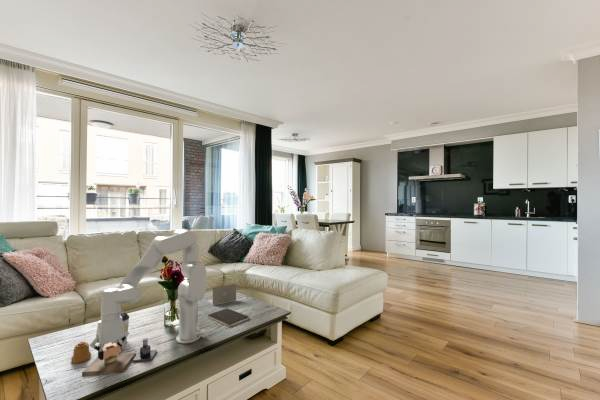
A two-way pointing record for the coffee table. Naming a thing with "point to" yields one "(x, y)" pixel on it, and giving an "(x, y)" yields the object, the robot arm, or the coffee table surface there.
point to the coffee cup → (125, 323)
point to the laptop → (223, 294)
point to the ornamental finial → (81, 353)
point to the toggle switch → (109, 364)
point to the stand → (145, 353)
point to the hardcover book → (228, 317)
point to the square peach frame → (111, 350)
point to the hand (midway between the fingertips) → (110, 355)
